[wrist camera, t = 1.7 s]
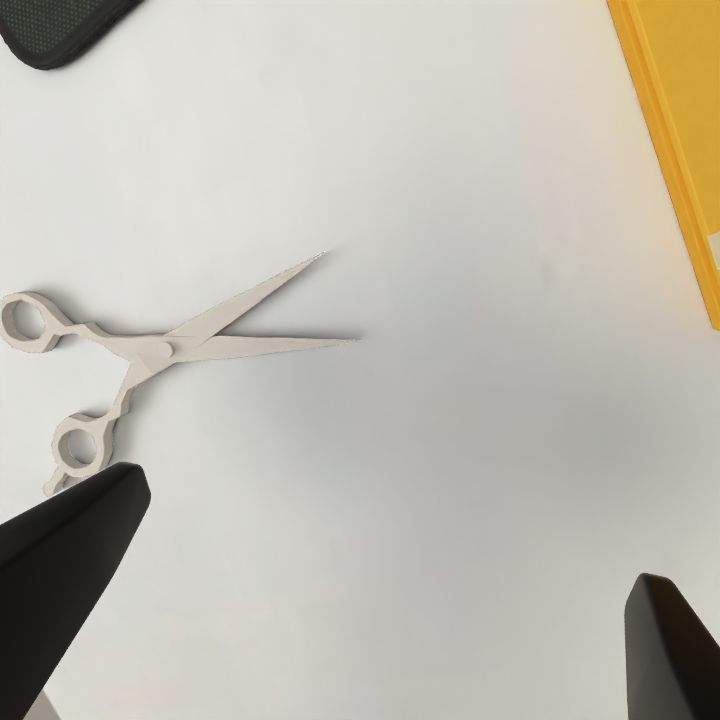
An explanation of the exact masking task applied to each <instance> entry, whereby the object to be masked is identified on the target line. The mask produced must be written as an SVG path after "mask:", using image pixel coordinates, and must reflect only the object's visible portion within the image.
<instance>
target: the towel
mask: <svg viewBox="0 0 720 720" xmlns="http://www.w3.org/2000/svg"><path fill="white" fill-rule="evenodd" d="M607 3H608V6H609V9H610V12H611V15H612V18H613V21H614V24H615V27H616V31H617V34H618V37H619V40H620V43H621V46H622V49H623V52H624V55H625V58H626V61H627V64H628V67H629V71H630V74H631V77H632V80H633V83H634V86H635V89H636V92H637V95H638V98H639V101H640V104H641V107H642V111H643V114H644V117H645V120H646V123H647V126H648V129H649V132H650V135H651V138H652V141H653V144H654V147H655V151H656V154H657V157H658V160H659V163H660V166H661V169H662V172H663V175H664V178H665V181H666V184H667V187H668V191H669V194H670V197H671V200H672V203H673V206H674V209H675V212H676V215H677V218H678V221H679V224H680V227H681V231H682V234H683V237H684V240H685V243H686V246H687V249H688V252H689V255H690V258H691V261H692V264H693V267H694V271H695V274H696V277H697V280H698V283H699V286H700V289H701V292H702V295H703V298H704V301H705V304H706V307H707V311H708V314H709V317H710V320H711V323H712V326H713V328H714V329H716V330H718V331H720V0H607Z"/></svg>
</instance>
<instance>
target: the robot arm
mask: <svg viewBox="0 0 720 720" xmlns="http://www.w3.org/2000/svg"><path fill="white" fill-rule="evenodd" d="M150 500H151V492H150V489H149V486H148V483H147V480H146V477H145V474H144V471H143V468H142V467H141V466H140V465H137V464H133V463H128V462H119V463H116V464H114V465H112V466H110V467H108V468H107V469H105V470H103V471H101V472H99V473H97V474H95V475H93V476H91V477H90V478H88V479H86V480H84V481H82V482H80V483H78V484H76V485H75V486H73V487H71V488H69V489H67V490H65V491H63V492H61V493H59V494H58V495H56V496H54V497H52V498H50V499H48V500H46V501H44V502H43V503H41V504H39V505H37V506H35V507H33V508H31V509H29V510H27V511H26V512H24V513H22V514H20V515H18V516H16V517H14V518H12V519H11V520H9V521H7V522H5V523H3V524H1V525H0V720H23V719H24V717H25V715H26V714H27V712H28V711H29V709H30V708H31V706H32V704H33V703H34V701H35V700H36V698H37V696H38V695H39V693H40V691H41V690H42V689H43V687H44V685H45V684H46V682H47V681H48V679H49V677H50V676H51V674H52V673H53V671H54V670H55V668H56V666H57V665H58V663H59V662H60V660H61V658H62V657H63V655H64V654H65V652H66V651H67V649H68V647H69V646H70V644H71V643H72V641H73V639H74V638H75V636H76V635H77V633H78V631H79V630H80V628H81V627H82V625H83V624H84V622H85V620H86V619H87V617H88V616H89V614H90V612H91V611H92V609H93V608H94V606H95V605H96V603H97V601H98V600H99V598H100V597H101V595H102V593H103V592H104V590H105V589H106V587H107V585H108V584H109V582H110V580H111V579H112V577H113V575H114V573H115V572H116V570H117V568H118V566H119V564H120V562H121V560H122V558H123V556H124V554H125V552H126V550H127V548H128V546H129V544H130V542H131V540H132V538H133V536H134V534H135V532H136V530H137V528H138V527H139V525H140V523H141V521H142V519H143V517H144V515H145V513H146V511H147V509H148V507H149V504H150ZM624 619H625V647H626V675H627V702H628V718H629V720H720V647H719V645H718V644H717V643H716V641H715V640H714V638H713V637H712V636H711V634H710V633H709V631H708V630H707V629H706V627H705V626H704V625H703V623H702V622H701V620H700V619H699V618H698V616H697V615H696V613H695V612H694V611H693V609H692V608H691V606H690V605H689V604H688V602H687V601H686V599H685V598H684V597H683V595H682V594H681V592H680V591H679V590H678V588H677V587H676V585H675V584H674V583H673V582H672V581H671V580H670V579H668V578H666V577H662V576H658V575H653V574H648V573H642V574H640V575H639V576H638V578H637V580H636V582H635V584H634V587H633V589H632V591H631V593H630V595H629V597H628V600H627V602H626V606H625V614H624Z"/></svg>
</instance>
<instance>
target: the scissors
mask: <svg viewBox="0 0 720 720" xmlns="http://www.w3.org/2000/svg"><path fill="white" fill-rule="evenodd" d="M325 252H326V251H325ZM323 253H324V252H323ZM323 253H321V254H319V255H317V256H315V257H313V258H311V259H309V260H307V261H305V262H303V263H301V264H299V265H297V266H295V267H293V268H291V269H289V270H287V271H285V272H283V273H281V274H279V275H277V276H275V277H273V278H271V279H269V280H267V281H265V282H263V283H261V284H259V285H257V286H255V287H253V288H251V289H249V290H247V291H245V292H243V293H241V294H239V295H237V296H235V297H233V298H231V299H229V300H227V301H225V302H223V303H221V304H219V305H217V306H215V307H214V308H212V309H210V310H208V311H206V312H204V313H203V314H201V315H199V316H197V317H195V318H193V319H192V320H190V321H188V322H186V323H184V324H182V325H181V326H179V327H177V328H175V329H173V330H171V331H170V332H168V333H167V334H155V335H141V336H128V335H111V334H108V333H106V332H104V331H102V330H101V329H100V328H99V327H98V326H97V325H96V324H95V323H94V322H90V323H84V324H77V325H75V324H74V323H72V322H71V321H70V320H69V319H68V318H67V317H66V316H65V315H64V314H63V313H61V311H60V310H59V309H58V308H57V307H56V305H55V304H54V303H52V302H51V301H50V300H48V299H47V298H45V297H43V296H41V295H39V294H37V293H32V292H18V293H13V294H10V295H7V296H4V297H3V298H2V299H1V300H0V336H1V337H2V338H3V339H4V340H5V341H6V342H7V343H8V344H9V345H10V346H11V347H12V348H15V349H18V350H21V351H24V352H27V353H44V352H48V351H52V350H53V348H54V347H55V345H56V344H57V342H58V340H59V339H60V337H61V336H62V335H66V334H71V333H74V334H77V335H80V336H82V337H85V338H87V339H90V340H92V341H94V342H96V343H98V344H100V345H102V346H104V347H105V348H107V349H108V350H110V351H111V352H113V353H114V354H116V355H118V356H120V357H122V358H124V359H126V360H128V361H132V362H131V364H130V367H129V369H128V371H127V374H126V376H125V378H124V380H123V383H122V385H121V387H120V390H119V393H118V395H117V398H116V400H115V402H114V404H113V406H112V408H111V409H110V410H109V411H108V412H107V413H106V415H105V416H102V417H100V418H97V419H96V418H91V417H88V416H85V415H82V414H80V413H75V414H73V415H70V416H68V417H67V418H65V419H64V420H63V421H62V422H61V423H60V424H59V425H58V426H57V428H56V430H55V433H54V435H53V439H52V444H51V447H52V454H53V456H54V459H55V461H56V464H57V468H56V470H55V472H54V474H53V476H52V478H51V480H50V481H49V482H47V483H46V484H45V485H44V486H43V487H42V490H43V492H44V494H45V495H47V496H51V495H53V494H55V493H57V492H59V491H60V490H62V487H63V483H64V481H65V480H66V478H67V477H68V476H71V477H87V476H89V475H91V474H93V473H95V472H97V471H99V470H101V469H103V468H104V467H106V466H107V464H108V462H109V460H110V457H111V455H112V450H113V439H112V430H113V427H114V424H115V421H116V418H118V417H120V416H122V415H125V414H127V413H129V407H130V399H131V396H132V394H133V392H134V390H135V387H136V386H137V385H139V384H141V383H143V382H145V381H147V380H149V379H150V378H152V377H153V376H155V375H157V374H158V373H160V372H162V371H163V370H165V369H166V368H168V367H169V366H171V365H172V364H174V363H175V362H187V361H201V360H215V359H229V358H238V357H248V356H257V355H264V354H271V353H278V352H285V351H294V350H302V349H311V348H320V347H327V346H333V345H339V344H344V343H350V342H356V341H361V340H338V339H309V338H252V337H235V336H214V337H212V336H213V335H214V334H216V333H217V332H219V331H220V330H221V329H223V328H224V327H225V326H227V325H228V324H230V323H231V322H232V321H234V320H235V319H237V318H238V317H239V316H241V315H242V314H243V313H245V312H246V311H248V310H249V309H250V308H252V307H253V306H254V305H256V304H257V303H258V302H260V301H261V300H262V299H264V298H265V297H266V296H268V295H269V294H270V293H271V292H273V291H274V290H275V289H277V288H278V287H279V286H281V285H282V284H283V283H285V282H286V281H287V280H289V279H290V278H291V277H293V276H294V275H295V274H297V273H298V272H299V271H301V270H302V269H303V268H305V267H306V266H307V265H308V264H310V263H311V262H312V261H314V260H315V259H316V258H318V257H319V256H320V255H322V254H323ZM22 300H23V301H25V302H27V303H29V304H30V305H32V306H34V307H35V308H37V309H38V310H39V311H40V313H41V315H42V318H43V320H44V322H45V331H44V332H43V333H42V335H41V336H40V338H39V339H30V338H28V337H25V336H23V335H21V334H20V333H18V332H17V329H16V327H15V325H14V322H13V318H12V312H13V308H14V307H15V305H16V304H17V302H20V301H22ZM75 429H82V430H83V431H85V432H87V433H89V434H91V435H92V437H93V440H94V443H95V445H96V448H97V452H96V456H95V458H94V460H93V462H92V463H90V464H82V463H80V462H78V461H77V460H76V459H75V458H73V457H72V456H71V454H70V451H69V448H68V437H69V435H70V433H71V432H72V431H73V430H75Z"/></svg>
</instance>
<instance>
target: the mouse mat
mask: <svg viewBox="0 0 720 720" xmlns="http://www.w3.org/2000/svg"><path fill="white" fill-rule="evenodd" d="M135 1H136V0H0V34H1V36H2V37H3V39H4V41H5V43H6V44H7V45H8V47H9V48H10V50H11V52H12V53H13V54H14V55H15V56H16V57H17V58H18V59H19V60H21V61H22V62H23V63H25V64H27V65H29V66H31V67H33V68H35V69H39V70H50V69H54V68H58V67H60V66H62V65H64V64H65V63H67V62H68V61H69V60H70V59H71V58H72V57H74V56H75V55H76V54H77V53H78V52H79V51H81V50H82V49H83V48H84V47H85V46H86V45H87V44H88V43H89V42H91V41H92V40H93V39H94V38H95V37H97V36H98V35H99V34H100V33H101V32H102V30H103V29H104V28H106V27H107V26H108V25H109V24H111V23H112V22H113V21H114V20H115V19H116V18H117V17H118V16H119V15H120V14H121V13H123V12H124V11H125V10H126V9H128V7H129V6H130V5H131V4H133V3H135Z"/></svg>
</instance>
